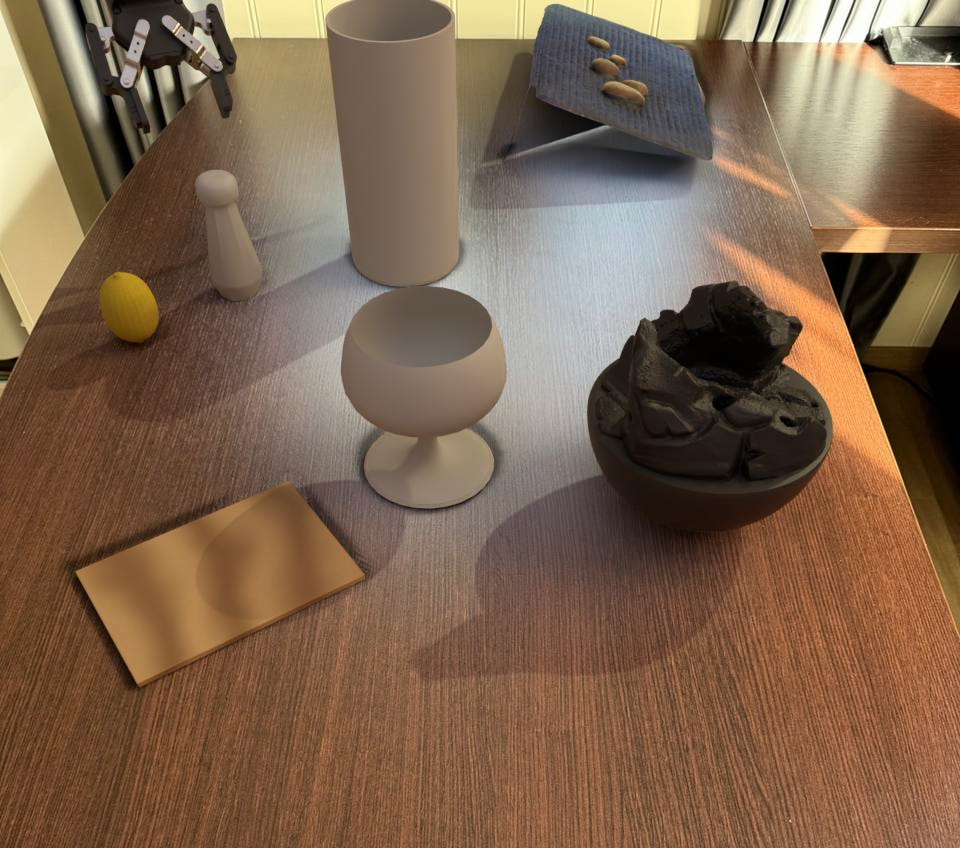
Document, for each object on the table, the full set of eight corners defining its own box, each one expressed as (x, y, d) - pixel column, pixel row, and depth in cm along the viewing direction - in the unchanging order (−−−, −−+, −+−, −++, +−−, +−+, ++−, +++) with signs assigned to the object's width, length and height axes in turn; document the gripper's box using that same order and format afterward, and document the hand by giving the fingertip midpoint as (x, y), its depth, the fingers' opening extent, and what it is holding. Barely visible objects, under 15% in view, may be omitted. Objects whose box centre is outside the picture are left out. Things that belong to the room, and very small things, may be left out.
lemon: (126, 364, 96) (101, 294, 90) (105, 339, 99) (80, 269, 93) (175, 345, 98) (155, 276, 92) (154, 321, 101) (132, 252, 95)
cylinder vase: (459, 290, 105) (454, 42, 85) (349, 290, 105) (319, 42, 85) (459, 233, 113) (455, -6, 93) (357, 233, 113) (331, -6, 93)
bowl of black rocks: (808, 451, 88) (874, 266, 73) (790, 604, 76) (865, 421, 62) (602, 413, 92) (626, 229, 77) (554, 554, 80) (571, 369, 65)
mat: (514, 62, 151) (537, -19, 142) (669, 117, 155) (701, 42, 147) (500, 175, 121) (528, 81, 112) (693, 239, 125) (734, 154, 117)
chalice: (339, 510, 83) (316, 368, 71) (371, 412, 92) (356, 271, 80) (493, 526, 82) (496, 385, 70) (512, 425, 90) (517, 284, 79)
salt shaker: (275, 284, 106) (254, 169, 96) (247, 310, 103) (222, 193, 92) (233, 273, 107) (207, 158, 97) (203, 298, 104) (173, 182, 94)
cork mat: (139, 688, 71) (136, 683, 71) (77, 575, 78) (74, 571, 78) (365, 579, 78) (365, 574, 78) (289, 485, 85) (288, 480, 85)
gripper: (54, -54, 89) (117, 119, 92) (198, -74, 93) (255, 92, 96) (63, -7, 97) (121, 152, 99) (197, -28, 101) (249, 126, 103)
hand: (187, 122), depth 98 cm, fingers open, 8 cm apart
